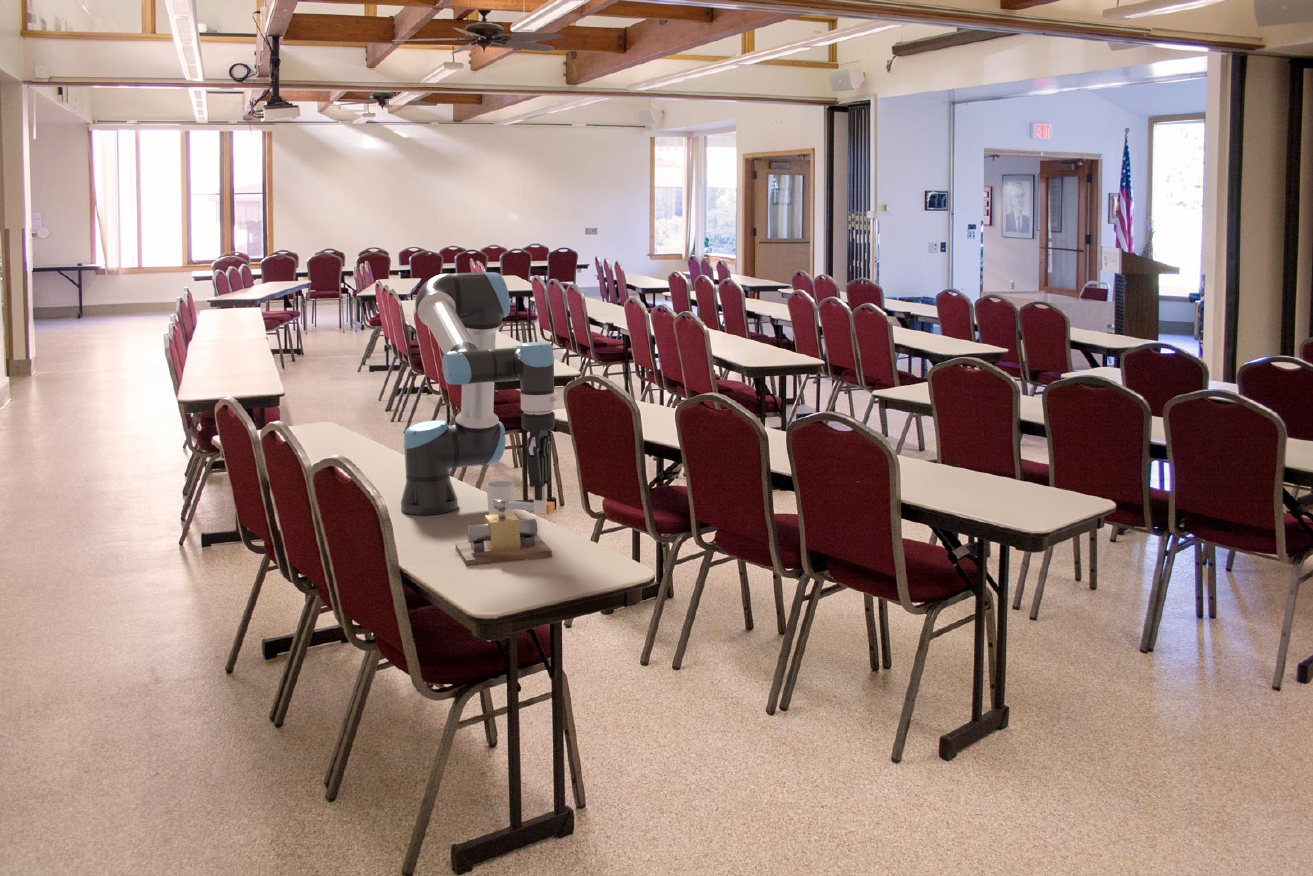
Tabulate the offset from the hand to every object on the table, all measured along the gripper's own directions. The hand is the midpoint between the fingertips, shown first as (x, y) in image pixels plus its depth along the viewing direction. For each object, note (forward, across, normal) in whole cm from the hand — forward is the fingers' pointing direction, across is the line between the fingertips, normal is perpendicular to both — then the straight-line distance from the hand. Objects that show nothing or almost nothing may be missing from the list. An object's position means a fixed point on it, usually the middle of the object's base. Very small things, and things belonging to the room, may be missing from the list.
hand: (540, 512), depth 258 cm
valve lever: (0, +3, +5) cm, 6 cm away
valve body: (+10, +4, +11) cm, 15 cm away
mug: (+12, +24, +18) cm, 32 cm away
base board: (+11, +4, +11) cm, 16 cm away
